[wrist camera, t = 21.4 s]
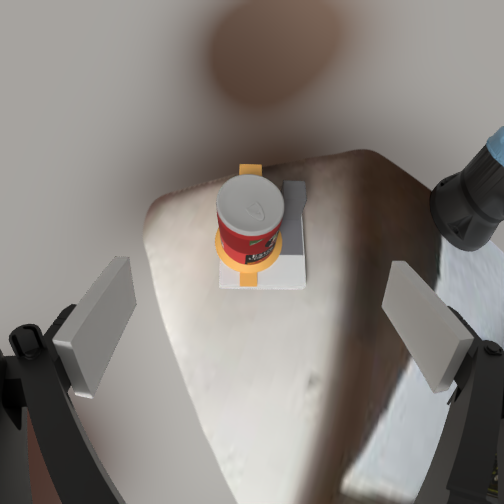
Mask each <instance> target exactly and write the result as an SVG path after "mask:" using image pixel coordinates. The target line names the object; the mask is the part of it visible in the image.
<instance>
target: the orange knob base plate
mask: <svg viewBox="0 0 504 504" xmlns="http://www.w3.org/2000/svg"><path fill="white" fill-rule="evenodd" d="M281 194H282V196H283V200H284V214H283V218H282V222H281V226H280V230H279V233H278V237H277V240H276V244H275V247H274V250H273V252H272V254H271V255H270V256H269V257H268V258H267V259H266V260H264V261H262V262H261V263H258V264H254V265H244V264H241V263H238V262H236V261H234V260H233V259H231V258H230V257H229V256H228V255H227V254H226V253H225V251H224V249H223V247H222V244H221V239H220V232H219V228H218V230H217V233H216V237H215V246H216V250H217V253H218V255H219V257H220V274H219V287H220V288H221V289H304V288H305V286H306V274H305V256H304V239H303V224H302V212H303V209H304V206H305V203H306V201H307V197H306V186H305V181H286V180H283V185H282V189H281Z"/></svg>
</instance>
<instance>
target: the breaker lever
mask: <svg viewBox="0 0 504 504" xmlns="http://www.w3.org/2000/svg"><path fill="white" fill-rule="evenodd" d="M242 174H254V175H259V176H262V165H255V164H254V165H252V164H240V173H239V175H242Z"/></svg>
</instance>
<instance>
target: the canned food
mask: <svg viewBox="0 0 504 504" xmlns="http://www.w3.org/2000/svg"><path fill="white" fill-rule="evenodd" d="M216 207H217V217H218V224H219V232H220V239H221V244H222V247H223V249H224V251H225V253H226V254H227V255H228V256H229V257H230V258H231V259H233V260H234V261H236V262H238V263H241V264H244V265H254V264H258V263H261V262H262V261H264V260H266V259H267V258H268V257H269V256H270V255H271V254H272V252H273V250H274V247H275V244H276V240H277V237H278V233H279V230H280V226H281V222H282V218H283V214H284V200H283V196H282V194H281V192H280V190H279V189H278V187H277V186H276V185H275V184H274V183H273V182H271V181H270V180H268V179H266V178H264V177H262V176H259V175H254V174H242V175H238V176H235V177H233V178H231V179H229V180H228V181H226V182H225V183H224V184H223V185H222V187H221V188H220V190H219V192H218V195H217V202H216Z"/></svg>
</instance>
